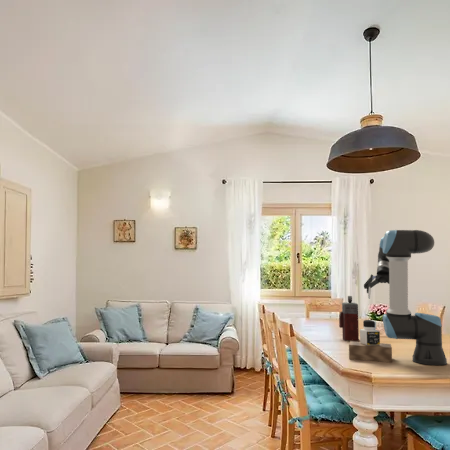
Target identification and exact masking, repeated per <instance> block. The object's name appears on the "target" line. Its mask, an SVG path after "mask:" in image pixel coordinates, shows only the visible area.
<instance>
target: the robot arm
mask: <svg viewBox="0 0 450 450" xmlns="http://www.w3.org/2000/svg"><path fill="white" fill-rule="evenodd" d="M434 246H435V239H434V237H433V236H432V235H431V233H428V232H426V231H424V230H419V229H414V230H413V229H391V230H386V232H385V234H384V236H383V237H381V238H380V241H379V248H378V250H379V251H378V253H377V264H376V265H377V267H376V275H373V274H371V275H370V277H368V279H367V280H366V281H365V282H364V284H363V288H364V289H366V294H367V297H368V299H371V292H372V288H373V287H375V286H376V285H378V284H379V283H380V284H383V283H384V284H388V285H389V288H388V289H389V290H388V291H389V292H388V293H389V294H388V295H389V298H388V299H389V307H388V308H387V309H386V310H385V314H382V323H383V329H384V332H385V335H386V337H387V338H388V339H395V340H413V341H414V340H415V347H414V350H413V355H412V361H413V362H414V363H416V364H420V365H428V366H445V365H447V364H448V361H447V360H448V359H447V357H446V354H445V351H444V348H443V334H442V331H443V330H442V328H443V327H442V326H443V324H442V321H441V320H442V319H441V317H440V316H437V315H434V314H429V313H423V312H422V313H421V312H415V313H414V315H412V312H411V310H410V309H409V294H408V293H409V282H408V281H409V280H408V279H409V276H408V275H409V274H408V273H409V268H408V267H409V266H408V265H409V264H408V263H409V260H410V259H412V254H414V255H415V254H424V253H429V252H430V251H431V250H432V249H434Z"/></svg>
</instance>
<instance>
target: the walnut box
mask: <svg viewBox="0 0 450 450" xmlns="http://www.w3.org/2000/svg"><path fill="white" fill-rule="evenodd" d="M392 349H393V347H392V345H391V343H384V342H383V343H382V342H380V345H364V344H361V343H360V341H349V344H348V359H349V360H354V359H355V360H354V361H356V360H357V361H367V362H370V361H371V362H382V363H393V350H392Z"/></svg>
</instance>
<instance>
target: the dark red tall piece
mask: <svg viewBox="0 0 450 450" xmlns="http://www.w3.org/2000/svg"><path fill="white" fill-rule="evenodd" d="M341 305H342V306H341V310H342V311H340V312H339V316H338V321H339V324H338V325H339V328H340V329H341V330H342V339H343V341H349V342H350V341H354V342H360V329H359V304H358V303H356V302H353V296H352V295H348V296H347V302H342V303H341Z"/></svg>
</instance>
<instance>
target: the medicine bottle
mask: <svg viewBox="0 0 450 450" xmlns="http://www.w3.org/2000/svg"><path fill="white" fill-rule="evenodd" d="M362 322H363V328H360V329H359V342H360V343H361V344H364V345H380V343H381V337H380V336H381V335H380V334H381V331H380V330H377V322H376V321H375V320H373V319H365V320H363V321H362Z"/></svg>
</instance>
